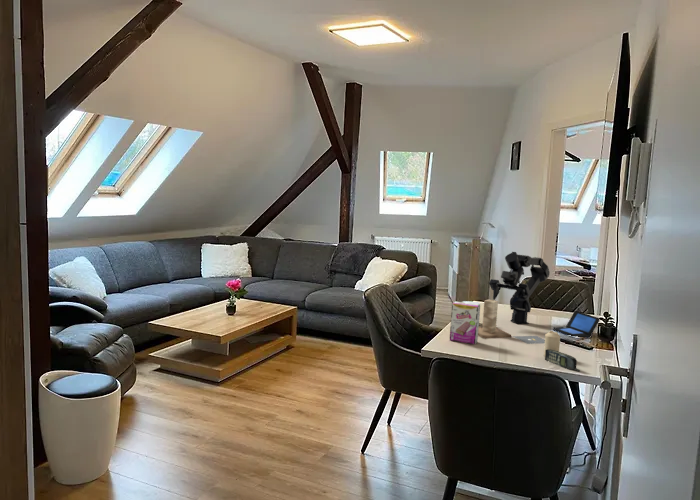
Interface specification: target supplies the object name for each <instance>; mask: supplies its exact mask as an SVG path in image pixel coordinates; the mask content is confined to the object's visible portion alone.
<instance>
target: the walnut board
mask: <svg viewBox="0 0 700 500" xmlns="http://www.w3.org/2000/svg"><path fill="white" fill-rule="evenodd" d="M478 337H479V338H481V339H499V338H500V339H501V338H502V339H503V338H512V334H510V333H509V332H506V331H505V330H502V329H500V328H499V327H497V326H496V332H493V333H488V332H484V331H482V327H481V326H479V327H478Z"/></svg>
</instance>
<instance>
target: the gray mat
mask: <svg viewBox="0 0 700 500" xmlns="http://www.w3.org/2000/svg"><path fill="white" fill-rule="evenodd" d="M512 338H514V339H517V340H519V341H521V342H523V343H525V344H526V345H530V344H531V345H533V344H535V345H536V344H545V338H542V337H539V336H538V335H516V336H515V335H514V336H512Z"/></svg>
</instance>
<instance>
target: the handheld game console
mask: <svg viewBox="0 0 700 500" xmlns="http://www.w3.org/2000/svg"><path fill="white" fill-rule="evenodd" d="M568 320H569V321H567V324H566V325H565V326H558V327H557V326H556V327H553V328H552V331H553V332H557V333H558V334H559V333H560V334H562V335H564V336H567V335H571V336H578V337H590V336H591V335H592V336H593V333H594V332H595V329H596V327H597V325H598V324H599V322H600V318H599V317H597V316H594V315H591V314H588V313H584V312H581V311H577V310H575V311H574V312H573V314H571V317H570V319H568ZM592 336H591V337H592Z"/></svg>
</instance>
